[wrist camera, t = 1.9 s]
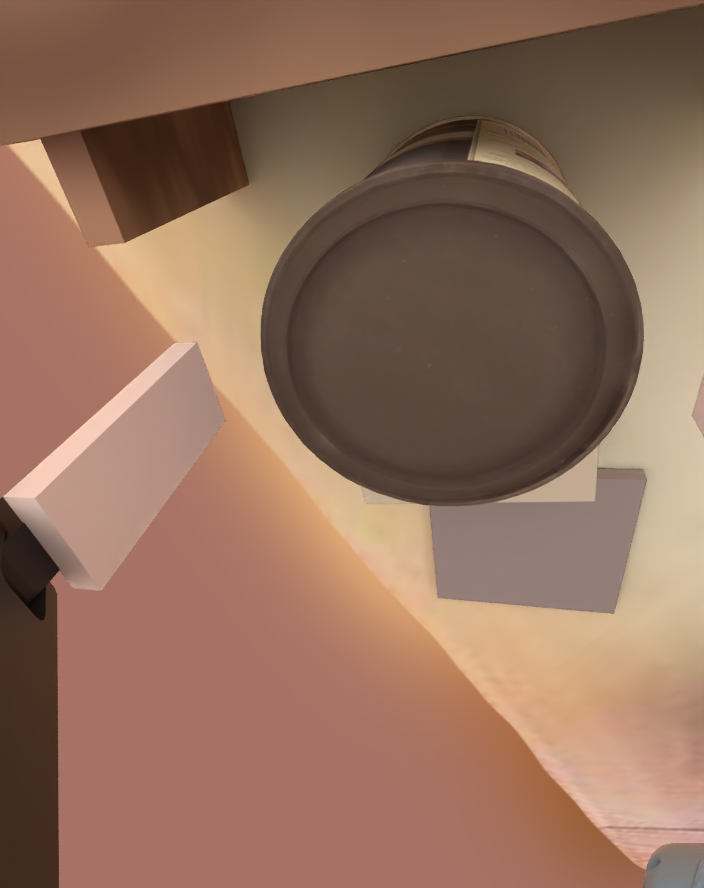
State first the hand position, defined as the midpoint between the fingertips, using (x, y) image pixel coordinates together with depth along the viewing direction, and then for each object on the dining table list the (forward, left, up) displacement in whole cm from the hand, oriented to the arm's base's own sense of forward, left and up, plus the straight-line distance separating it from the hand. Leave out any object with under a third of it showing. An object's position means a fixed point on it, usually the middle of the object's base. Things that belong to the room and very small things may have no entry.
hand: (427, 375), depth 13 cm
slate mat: (-21, -4, -15) cm, 26 cm away
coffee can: (0, 0, -15) cm, 15 cm away
